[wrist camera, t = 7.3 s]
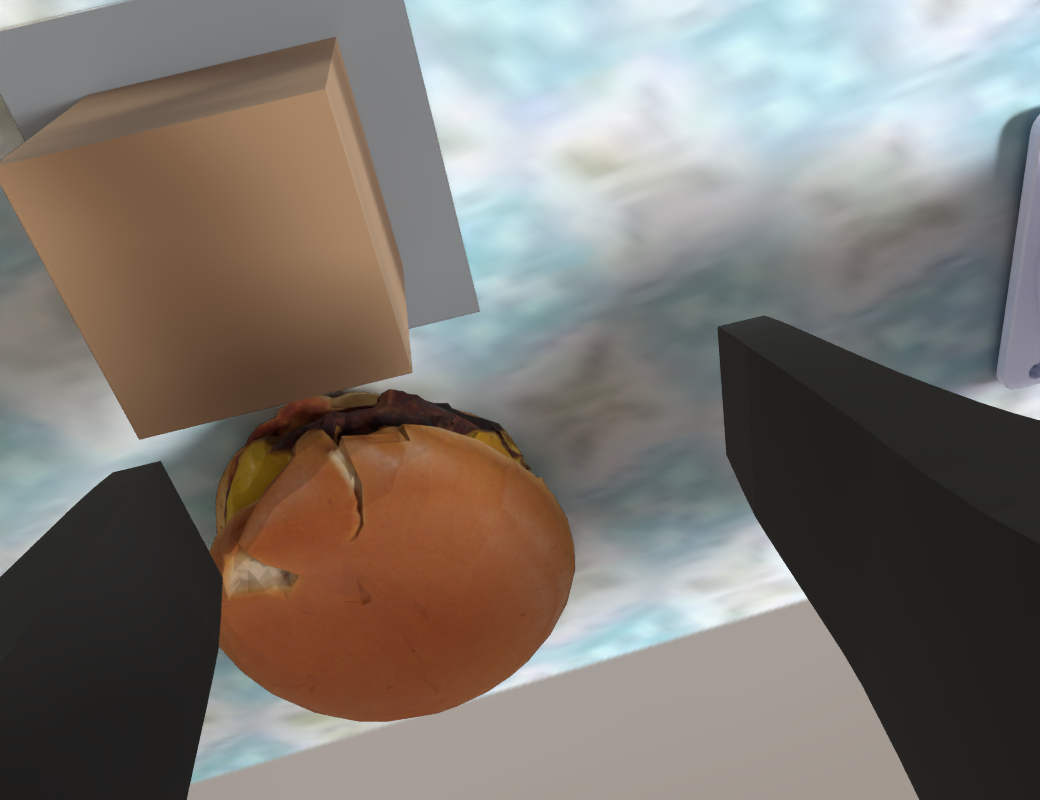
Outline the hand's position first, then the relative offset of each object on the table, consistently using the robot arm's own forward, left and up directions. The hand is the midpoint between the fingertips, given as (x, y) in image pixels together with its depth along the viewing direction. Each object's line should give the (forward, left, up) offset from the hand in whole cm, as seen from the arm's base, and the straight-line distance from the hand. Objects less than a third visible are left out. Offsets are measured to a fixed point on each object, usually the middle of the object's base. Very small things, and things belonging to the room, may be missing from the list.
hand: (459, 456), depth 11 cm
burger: (+3, +9, -10) cm, 14 cm away
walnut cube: (+3, -1, -9) cm, 10 cm away
